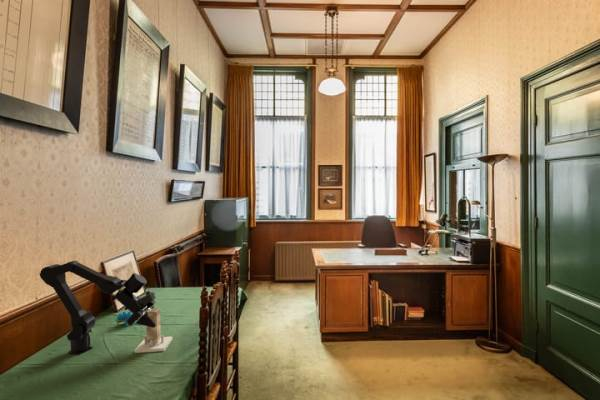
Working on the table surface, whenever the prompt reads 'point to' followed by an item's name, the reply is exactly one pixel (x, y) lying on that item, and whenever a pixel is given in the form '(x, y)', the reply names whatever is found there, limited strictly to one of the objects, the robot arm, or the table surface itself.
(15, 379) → the table surface
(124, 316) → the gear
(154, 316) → the maple block
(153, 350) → the pin plate
